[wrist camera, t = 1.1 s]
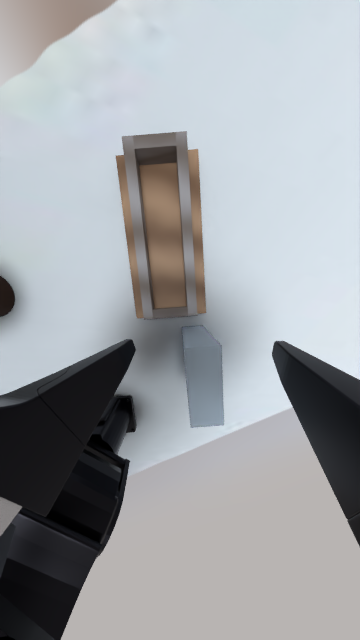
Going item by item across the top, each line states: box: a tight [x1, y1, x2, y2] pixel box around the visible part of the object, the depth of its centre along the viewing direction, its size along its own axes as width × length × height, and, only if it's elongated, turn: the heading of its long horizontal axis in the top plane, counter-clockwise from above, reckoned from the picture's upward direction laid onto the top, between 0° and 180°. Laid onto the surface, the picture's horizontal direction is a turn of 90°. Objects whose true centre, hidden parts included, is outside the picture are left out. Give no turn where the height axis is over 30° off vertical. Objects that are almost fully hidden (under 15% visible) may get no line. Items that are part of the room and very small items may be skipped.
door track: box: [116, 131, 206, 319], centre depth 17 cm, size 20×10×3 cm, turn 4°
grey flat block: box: [182, 325, 224, 428], centre depth 16 cm, size 8×3×9 cm, turn 5°
